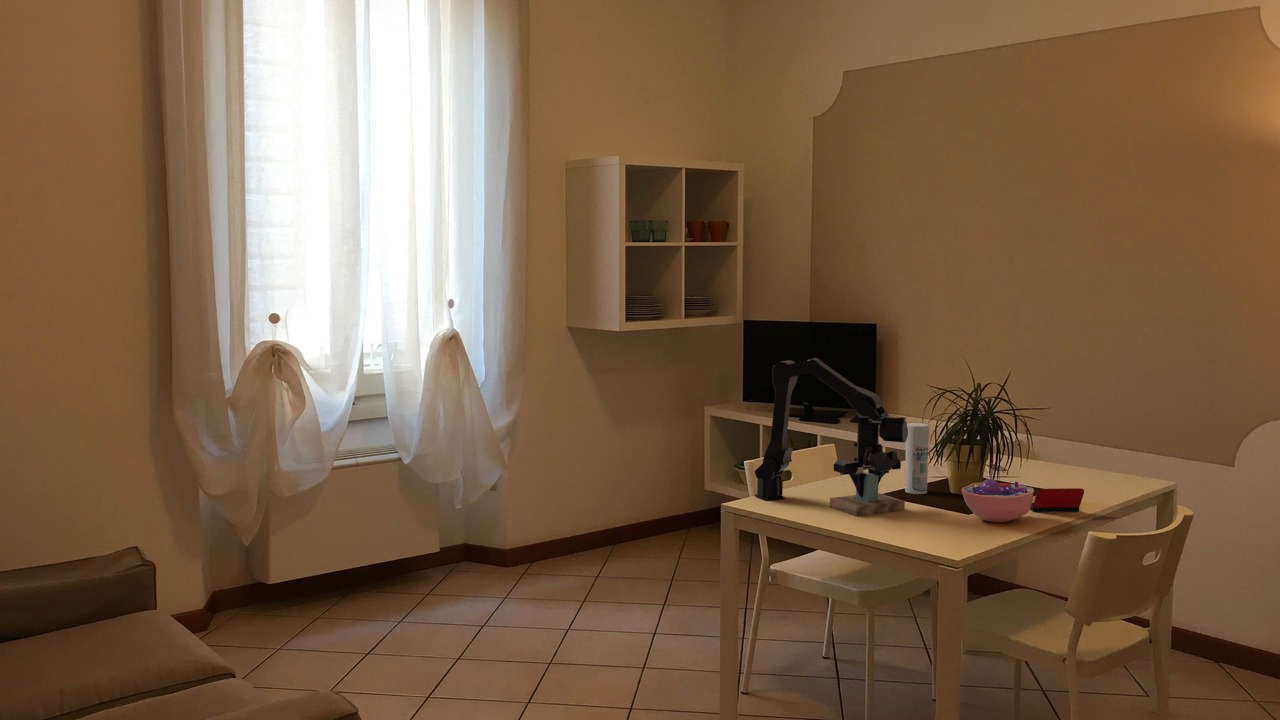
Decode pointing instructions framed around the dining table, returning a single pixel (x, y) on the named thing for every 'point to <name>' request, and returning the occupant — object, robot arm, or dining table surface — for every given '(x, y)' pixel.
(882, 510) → the socket block
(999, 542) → the dining table surface
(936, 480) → the dining table surface
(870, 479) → the keyed peg
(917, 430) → the spray can
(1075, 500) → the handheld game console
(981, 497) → the cell model
